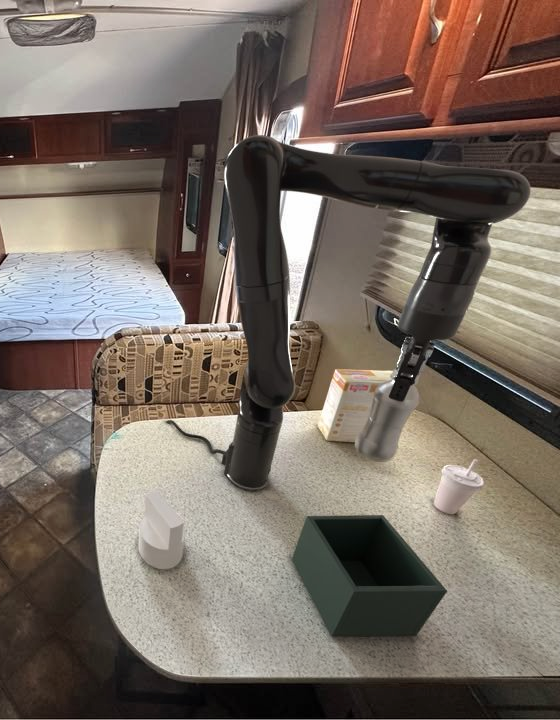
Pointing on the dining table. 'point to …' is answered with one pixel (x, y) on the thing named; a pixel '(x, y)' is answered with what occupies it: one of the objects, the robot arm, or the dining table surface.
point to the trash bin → (365, 577)
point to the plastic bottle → (386, 421)
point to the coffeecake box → (349, 403)
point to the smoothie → (457, 487)
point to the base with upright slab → (161, 533)
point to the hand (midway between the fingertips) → (398, 391)
